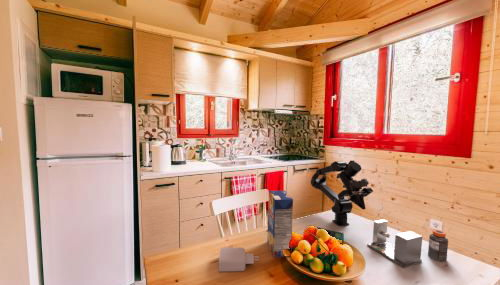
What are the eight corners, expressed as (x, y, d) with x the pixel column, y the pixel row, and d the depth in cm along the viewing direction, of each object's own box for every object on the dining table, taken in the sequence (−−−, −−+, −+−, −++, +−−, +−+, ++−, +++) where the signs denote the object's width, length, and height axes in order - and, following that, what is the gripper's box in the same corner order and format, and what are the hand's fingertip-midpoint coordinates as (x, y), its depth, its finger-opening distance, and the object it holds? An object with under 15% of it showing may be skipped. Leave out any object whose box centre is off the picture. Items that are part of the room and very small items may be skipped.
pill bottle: (443, 255, 92) (445, 229, 91) (449, 263, 87) (451, 236, 86) (425, 251, 94) (428, 226, 94) (430, 259, 89) (432, 233, 88)
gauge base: (367, 245, 98) (368, 222, 97) (384, 241, 102) (386, 219, 101) (403, 267, 83) (405, 240, 82) (421, 261, 87) (424, 235, 86)
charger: (259, 272, 79) (218, 273, 79) (257, 257, 89) (220, 257, 88) (260, 260, 79) (218, 260, 78) (257, 245, 88) (220, 246, 87)
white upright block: (368, 243, 98) (370, 221, 97) (381, 240, 101) (383, 219, 100) (378, 249, 93) (380, 226, 92) (392, 245, 96) (394, 224, 95)
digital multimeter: (312, 230, 112) (313, 225, 112) (344, 238, 106) (344, 232, 105) (309, 237, 106) (310, 231, 106) (342, 245, 99) (343, 239, 99)
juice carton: (267, 241, 100) (268, 190, 98) (283, 240, 101) (284, 190, 99) (273, 257, 88) (275, 199, 86) (291, 256, 89) (293, 199, 87)
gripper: (343, 174, 106) (360, 204, 97) (371, 172, 113) (389, 199, 104) (331, 185, 114) (345, 214, 105) (357, 183, 121) (374, 209, 112)
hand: (364, 209), depth 106 cm, fingers closed
